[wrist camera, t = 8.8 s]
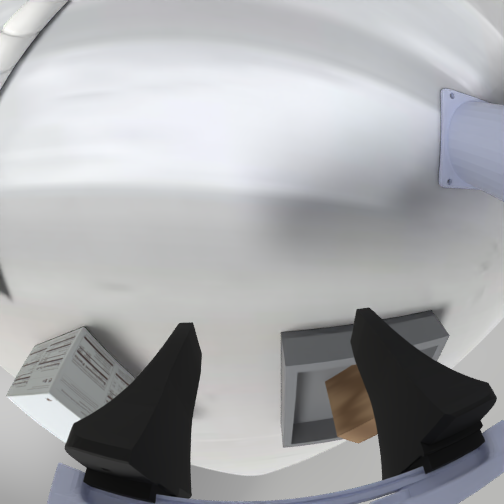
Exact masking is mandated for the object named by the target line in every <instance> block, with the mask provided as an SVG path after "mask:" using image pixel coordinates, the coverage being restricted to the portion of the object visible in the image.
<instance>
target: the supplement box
mask: <svg viewBox="0 0 504 504" xmlns="http://www.w3.org/2000/svg"><path fill="white" fill-rule="evenodd" d="M134 380H135V378H134V377H133V376H132V375H131V374H130V373H129V372H128V371H127V370H125V369H124V368H123V367H122V366H121V365H120V364H119V363H118V362H117V361H116V360H115V359H114V358H113V357H112V356H111V355H110V354H109V353H108V352H107V351H106V350H105V349H104V348H103V347H102V346H101V345H100V344H99V343H98V341H97V340H96V339H95V338H94V337H93V336H92V335H91V334H90V333H89V332H88V330H87V329H86V328H85V327H82V328H80V329H77V330H75V331H72V332H70V333H67V334H65V335H62V336H59V337H57V338H54V339H52V340H49V341H47V342H44V343H42V344H39V345H37V346H35V347H34V348H33V349H32V351H31V353H30V354H29V356H28V357H27V359H26V361H25V362H24V364H23V366H22V368H21V369H20V371H19V373H18V375H17V376H16V378H15V380H14V382H13V384H12V386H11V387H10V389H9V391H8V393H7V395H6V397H8V398H9V399H10V400H11V401H12V402H13V403H14V404H15V405H16V406H18V407H19V408H20V409H21V410H22V411H23V412H25V413H26V414H27V415H28V416H29V417H31V418H32V419H33V420H34V421H36V422H37V423H38V424H40V425H41V426H42V427H43V428H45V429H46V430H47V431H49V432H50V433H52V434H53V435H54V436H56V437H57V438H59V439H60V440H62V441H63V442H65V443H66V442H67V439H68V436H69V433H70V431H71V428H72V426H73V424H74V423H75V422H77V421H79V420H81V419H83V418H84V417H86V416H88V415H90V414H92V413H93V412H95V411H96V410H98V409H100V408H101V407H103V406H104V405H105V404H107V403H108V402H110V401H111V400H112V399H113V398H115V397H116V396H117V395H118V394H120V393H121V392H122V391H123V390H124V389H125V388H126V387H128V386H129V385H130V384H131V383H132V382H133V381H134Z"/></svg>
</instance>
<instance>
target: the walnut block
mask: <svg viewBox="0 0 504 504" xmlns="http://www.w3.org/2000/svg"><path fill="white" fill-rule="evenodd" d="M325 385H326V389H327V393H328V398H329V402H330V406H331V410H332V415H333V419H334V424H335V428H336V433H337V437H340V438H343V439H346V440H349V441H352V442H355V443H361V442H362V441H365V440H367V439H369V438H371V437H373V436H375V435H377V434H378V433H377V428H376V422H375V418H374V413H373V409H372V405H371V402H370V399H369V396H368V393H367V391H366V388H365V385H364V383H363V380H362V378H361V375H360V372H359V370H358V367H357V365H356V364H355V365H351V366H350V367H348V368H346V369H345V370H343V371H342V372H340V373H338V374H337V375H335V376H334V377H332V378H330V379H328V380H327V381H325Z"/></svg>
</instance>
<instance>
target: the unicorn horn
mask: <svg viewBox="0 0 504 504" xmlns="http://www.w3.org/2000/svg"><path fill="white" fill-rule="evenodd" d="M68 1H69V0H28V1H27V2H26V3H25V4H24V5H23V6H22V7H21V8H20V9H19V10H18V11H17V12H16V13H15V14H14V15H13V16H12V17H11V18H10V19H9V20H8V21H7V22H6V23H5V24H4V26H3V27H4V29H3V30H2V31H1V32H0V89H1V87H2V86H3V84H4V82H5V81H6V79H7V78H8V76H9V74H10V73H11V71H12V70H13V68H14V67H15V64H16V63H17V62H18V61H19V59H20V58H21V56H22V55H23V54H24V52H25V51H26V49H27V48H28V47H29V45H30V44H31V43H32V42H33V40H34V39H35V38H36V36H37V35H38V34H39V33H40V31H41V30H42V29H43V28H44V27H45V26H46V24H47V23H48V22H49V21H50V20H51V19H52V18H53V16H54V15H55V14H56V13H57V12H58V11H59V10H60V9H61V8H62V7H63V6H64V5H65V4H66V3H67V2H68Z"/></svg>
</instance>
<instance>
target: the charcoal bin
mask: <svg viewBox="0 0 504 504" xmlns="http://www.w3.org/2000/svg"><path fill="white" fill-rule="evenodd" d="M383 321H385V322H386V323H387V324H388V325H389V326H390V327H391V328H392V329H394V330H395V331H396V332H397V333H398V334H399V335H401V336H402V337H403V338H404V339H405V340H407V341H408V342H409V343H410V344H412V345H413V346H414V347H416V348H417V349H418V350H420V351H421V352H423V353H424V354H426V355H427V356H429V357H430V358H432V359H433V360H435V361H437V360H438V358H439V356H440V354H441V352H442V350H443V348H444V346H445V344H446V342H447V340H448V338H449V334H448V333H447V331H446V330H445V328H444V327H443V325H442V324H441V323H440V321H439V320H438V319H437V317H436V316H435V314H434V313H433V312H432V310H431V311H426V312H421V313H417V314H412V315H406V316H401V317H396V318H390V319H384V320H383ZM353 326H354V324H352V325H345V326H338V327H330V328H321V329H313V330H303V331H293V332H282V333H281V431H282V442H283V448H285V447H294V446H303V445H310V444H317V443H324V442H330V441H335V440H341V439H343V438H340V437H337V433H336V428H335V424H334V419H333V415H332V410H331V406H330V402H329V398H328V393H327V389H326V385H325V381H327V380H328V379H330V378H332V377H334V376H335V375H337V374H338V373H340V372H342V371H343V370H345V369H346V368H348V367H350V366H351V365H355V364H356V362H355V359H354V355H353V351H352V347H351V343H350V340H351V336H352V331H353Z"/></svg>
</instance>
